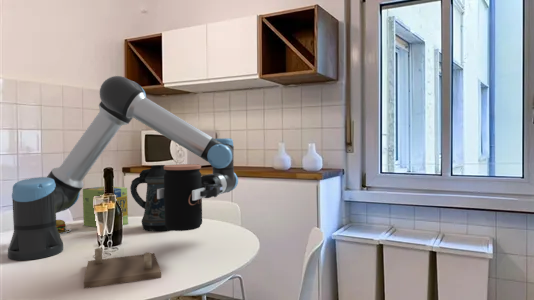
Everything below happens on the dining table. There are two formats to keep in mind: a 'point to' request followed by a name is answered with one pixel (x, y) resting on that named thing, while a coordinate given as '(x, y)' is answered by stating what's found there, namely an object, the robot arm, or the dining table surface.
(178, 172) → the coffee jar
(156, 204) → the beer stein
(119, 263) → the pegged base plate
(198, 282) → the dining table surface
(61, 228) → the hamburger
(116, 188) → the protein box
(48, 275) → the dining table surface
